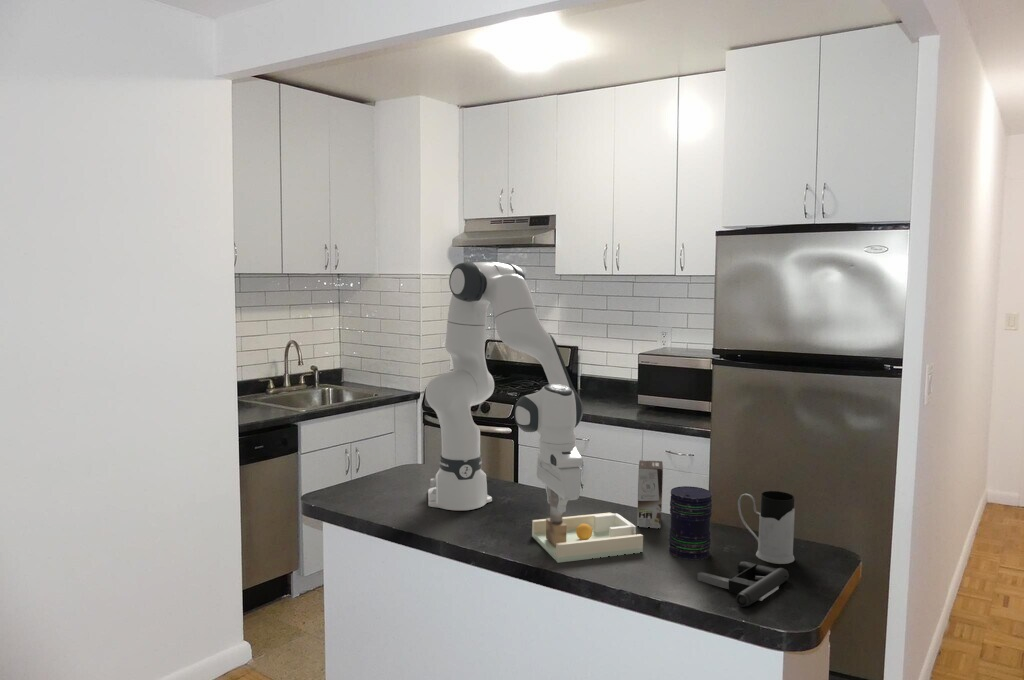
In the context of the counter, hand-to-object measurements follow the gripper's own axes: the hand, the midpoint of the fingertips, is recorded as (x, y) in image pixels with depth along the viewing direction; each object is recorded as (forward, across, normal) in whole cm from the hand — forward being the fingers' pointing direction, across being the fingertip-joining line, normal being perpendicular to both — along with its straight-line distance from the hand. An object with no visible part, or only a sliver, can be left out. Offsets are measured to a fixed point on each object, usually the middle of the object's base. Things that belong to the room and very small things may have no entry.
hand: (556, 507), depth 183 cm
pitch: (+10, 0, +8) cm, 13 cm away
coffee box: (+10, -10, +31) cm, 34 cm away
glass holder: (+10, +18, +47) cm, 51 cm away
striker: (+9, 0, 0) cm, 9 cm away
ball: (+7, 0, +8) cm, 10 cm away
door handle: (+11, +32, +30) cm, 45 cm away
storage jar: (+10, +12, +30) cm, 34 cm away
